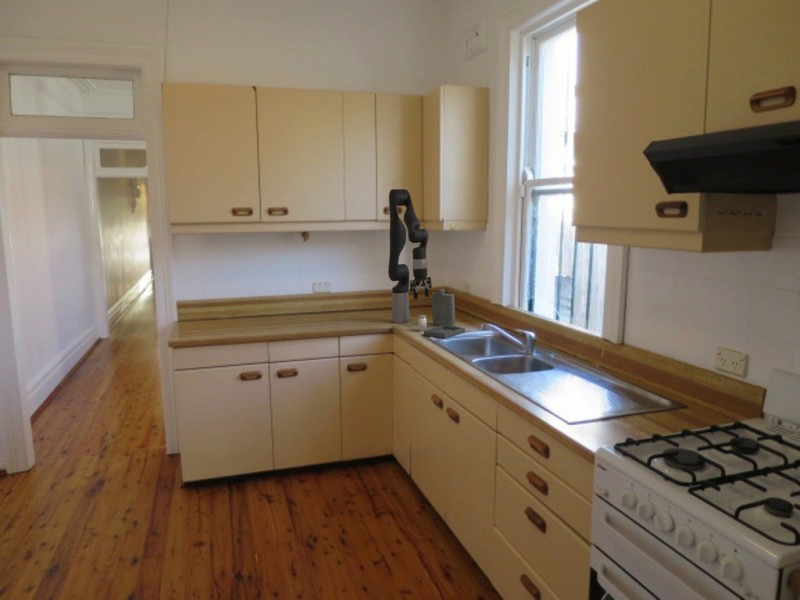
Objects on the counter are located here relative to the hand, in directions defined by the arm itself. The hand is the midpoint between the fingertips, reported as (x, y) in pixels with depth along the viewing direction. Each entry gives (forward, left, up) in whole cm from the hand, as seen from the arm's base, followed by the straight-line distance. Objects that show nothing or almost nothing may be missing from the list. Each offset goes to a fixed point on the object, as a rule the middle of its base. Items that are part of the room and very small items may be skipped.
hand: (421, 298), depth 300 cm
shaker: (0, 0, -18) cm, 18 cm away
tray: (+15, 0, -18) cm, 23 cm away
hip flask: (+1, +16, -18) cm, 24 cm away
